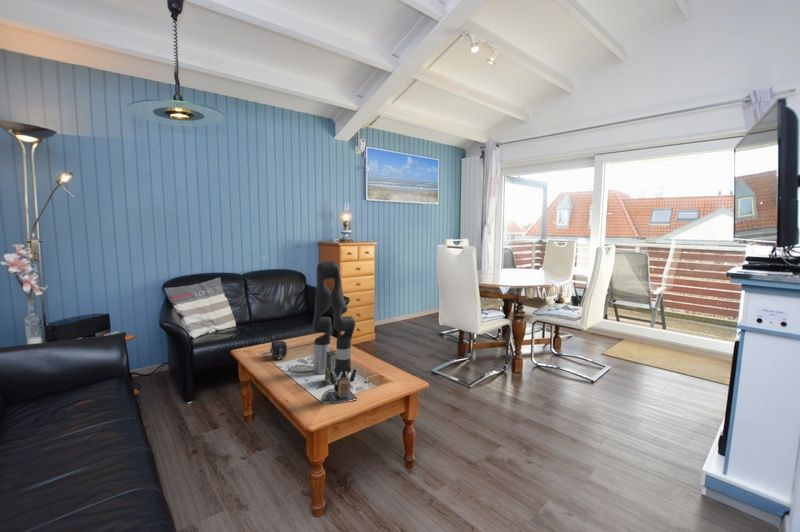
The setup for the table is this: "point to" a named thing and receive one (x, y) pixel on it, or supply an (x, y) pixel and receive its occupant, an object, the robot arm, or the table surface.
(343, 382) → the brown block
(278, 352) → the camera
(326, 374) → the coffee box
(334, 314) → the robot arm
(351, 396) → the stub plate
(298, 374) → the table surface
